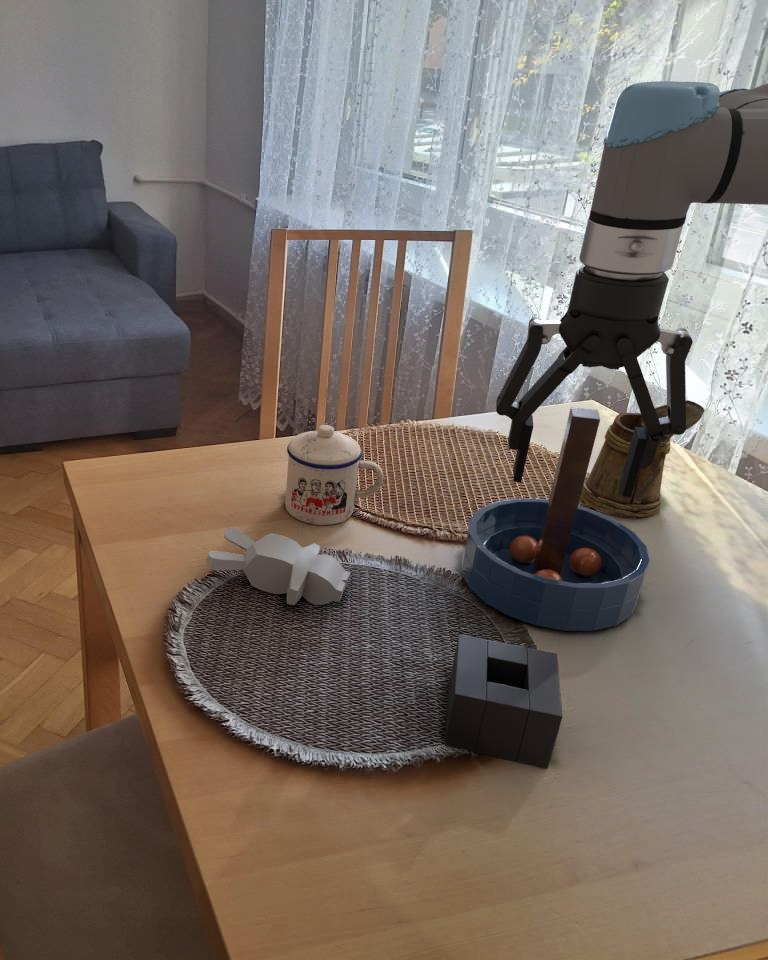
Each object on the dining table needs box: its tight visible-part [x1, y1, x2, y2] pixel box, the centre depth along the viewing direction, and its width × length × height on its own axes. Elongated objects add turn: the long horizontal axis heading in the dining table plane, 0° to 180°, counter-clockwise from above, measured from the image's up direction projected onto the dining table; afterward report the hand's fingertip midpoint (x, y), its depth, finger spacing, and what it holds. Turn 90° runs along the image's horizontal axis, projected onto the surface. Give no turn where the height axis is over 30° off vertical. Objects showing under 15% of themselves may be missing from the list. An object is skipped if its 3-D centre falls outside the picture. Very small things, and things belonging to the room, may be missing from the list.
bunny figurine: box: [205, 526, 351, 606], centre depth 96 cm, size 10×5×15 cm
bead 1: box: [509, 536, 539, 564], centre depth 97 cm, size 3×3×3 cm
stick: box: [533, 406, 601, 575], centre depth 91 cm, size 2×2×20 cm
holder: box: [444, 634, 564, 769], centre depth 76 cm, size 8×8×6 cm
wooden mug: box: [580, 399, 706, 519], centre depth 104 cm, size 9×14×18 cm, turn 172°
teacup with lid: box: [284, 424, 384, 526], centre depth 108 cm, size 12×9×12 cm
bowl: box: [461, 497, 651, 632], centre depth 94 cm, size 18×18×6 cm
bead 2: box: [534, 569, 563, 581], centre depth 92 cm, size 3×3×3 cm
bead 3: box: [569, 547, 602, 576], centre depth 95 cm, size 3×3×3 cm
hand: (570, 483), depth 89 cm, fingers open, 9 cm apart
